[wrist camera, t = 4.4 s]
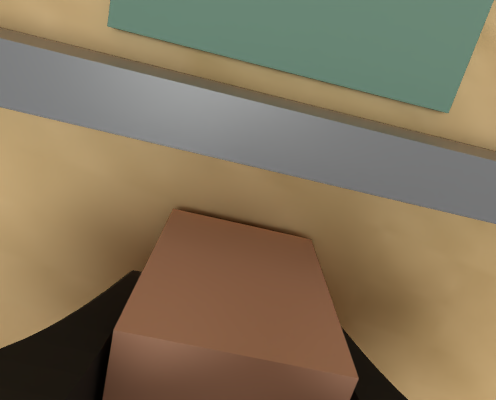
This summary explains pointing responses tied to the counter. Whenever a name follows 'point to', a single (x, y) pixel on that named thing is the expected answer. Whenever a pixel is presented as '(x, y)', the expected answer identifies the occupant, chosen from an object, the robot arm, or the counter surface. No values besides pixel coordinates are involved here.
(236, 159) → the low wall
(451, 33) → the rubber mat
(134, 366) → the terracotta block
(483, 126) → the counter surface
